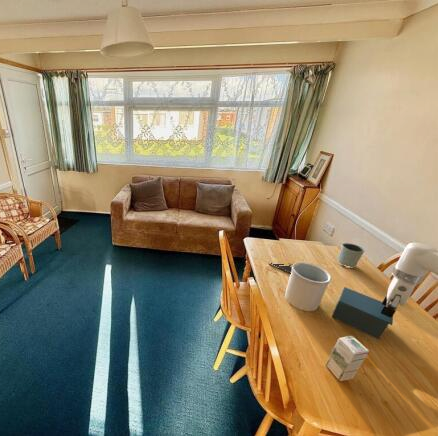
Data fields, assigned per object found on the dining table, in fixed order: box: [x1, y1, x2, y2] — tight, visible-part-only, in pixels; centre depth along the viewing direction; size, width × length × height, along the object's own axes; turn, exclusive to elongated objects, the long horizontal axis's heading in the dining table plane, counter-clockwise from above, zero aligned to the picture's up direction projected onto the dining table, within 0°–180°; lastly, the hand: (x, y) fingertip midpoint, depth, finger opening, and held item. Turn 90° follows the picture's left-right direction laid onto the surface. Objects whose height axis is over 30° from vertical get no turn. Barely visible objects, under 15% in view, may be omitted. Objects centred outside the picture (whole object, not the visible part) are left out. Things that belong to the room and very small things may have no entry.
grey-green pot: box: [337, 242, 365, 267], centre depth 135 cm, size 10×10×12 cm
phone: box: [271, 263, 293, 274], centre depth 135 cm, size 8×1×15 cm
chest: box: [331, 290, 389, 340], centre depth 98 cm, size 16×13×9 cm
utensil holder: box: [284, 261, 332, 312], centre depth 107 cm, size 15×15×18 cm
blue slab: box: [338, 286, 394, 326], centre depth 95 cm, size 16×13×6 cm
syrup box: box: [325, 335, 370, 382], centre depth 77 cm, size 6×6×14 cm
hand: (386, 310), depth 92 cm, fingers open, 6 cm apart
